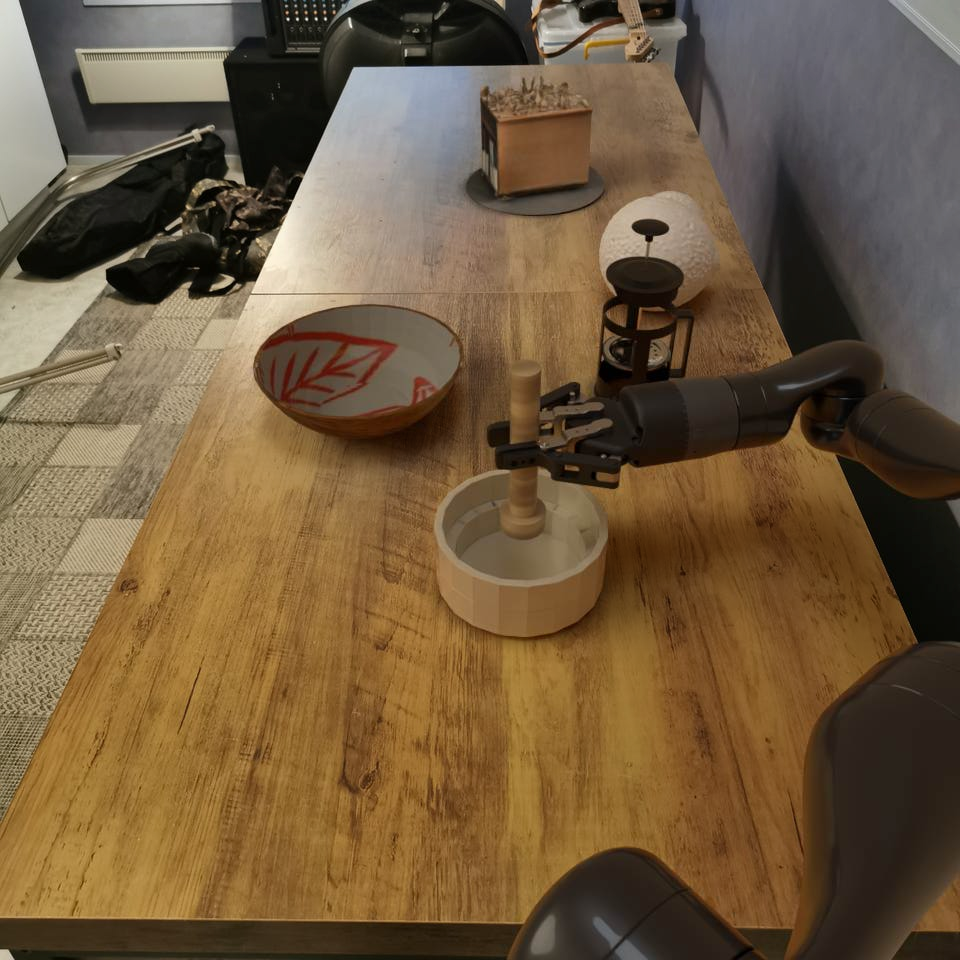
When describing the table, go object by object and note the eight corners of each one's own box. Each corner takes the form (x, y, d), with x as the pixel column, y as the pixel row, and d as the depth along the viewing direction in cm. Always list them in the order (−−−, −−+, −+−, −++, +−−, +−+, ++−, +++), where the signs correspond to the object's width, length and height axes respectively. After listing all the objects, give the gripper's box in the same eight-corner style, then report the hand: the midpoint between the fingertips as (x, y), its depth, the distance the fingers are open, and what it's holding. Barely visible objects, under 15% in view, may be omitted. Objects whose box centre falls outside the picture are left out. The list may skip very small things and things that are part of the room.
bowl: (245, 379, 121) (234, 326, 116) (426, 340, 128) (423, 288, 123) (289, 497, 103) (278, 440, 98) (496, 443, 110) (496, 388, 105)
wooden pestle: (550, 536, 88) (558, 378, 76) (505, 543, 87) (506, 385, 75) (539, 506, 91) (544, 350, 79) (495, 512, 90) (494, 356, 79)
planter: (545, 229, 154) (549, 114, 142) (437, 189, 167) (433, 81, 155) (631, 183, 168) (642, 75, 156) (525, 149, 181) (528, 47, 169)
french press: (591, 415, 114) (606, 243, 99) (585, 372, 122) (599, 206, 107) (686, 415, 114) (715, 243, 99) (675, 373, 121) (701, 206, 106)
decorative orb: (570, 321, 132) (576, 215, 121) (594, 264, 144) (602, 164, 134) (712, 341, 127) (731, 233, 117) (724, 281, 140) (743, 179, 130)
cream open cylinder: (624, 624, 89) (631, 570, 84) (454, 654, 86) (452, 599, 81) (575, 511, 101) (579, 457, 96) (425, 533, 99) (421, 480, 94)
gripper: (699, 501, 82) (509, 531, 79) (645, 410, 92) (476, 433, 90) (712, 433, 77) (509, 463, 74) (653, 345, 87) (474, 369, 85)
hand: (492, 447), depth 82 cm, fingers closed on wooden pestle, 2 cm apart
